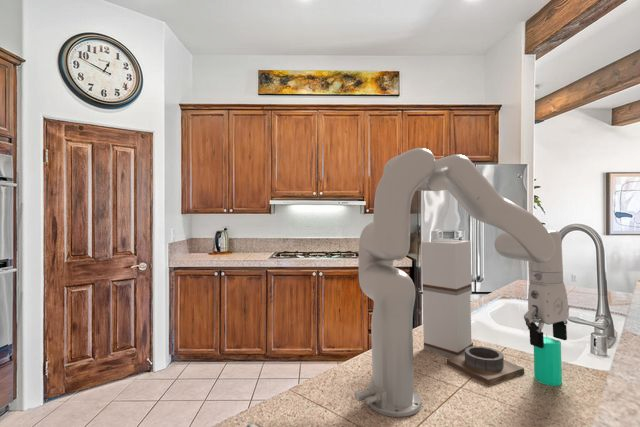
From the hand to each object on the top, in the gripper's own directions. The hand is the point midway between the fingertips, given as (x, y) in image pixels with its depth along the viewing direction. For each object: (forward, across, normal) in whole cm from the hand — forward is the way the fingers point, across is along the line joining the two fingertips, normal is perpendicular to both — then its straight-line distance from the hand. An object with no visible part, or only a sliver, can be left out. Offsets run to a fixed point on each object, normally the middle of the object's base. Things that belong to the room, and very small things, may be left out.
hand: (548, 342), depth 88 cm
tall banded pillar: (+10, -8, +27) cm, 30 cm away
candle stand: (+10, -10, +12) cm, 18 cm away
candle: (+10, -1, 0) cm, 10 cm away
